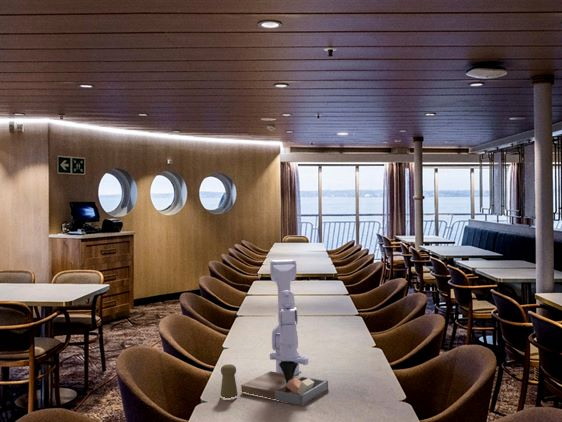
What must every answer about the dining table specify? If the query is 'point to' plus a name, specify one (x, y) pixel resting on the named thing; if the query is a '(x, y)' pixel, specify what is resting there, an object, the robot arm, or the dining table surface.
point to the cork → (228, 381)
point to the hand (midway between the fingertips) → (289, 382)
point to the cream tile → (305, 386)
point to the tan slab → (267, 385)
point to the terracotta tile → (294, 385)
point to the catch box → (300, 400)
